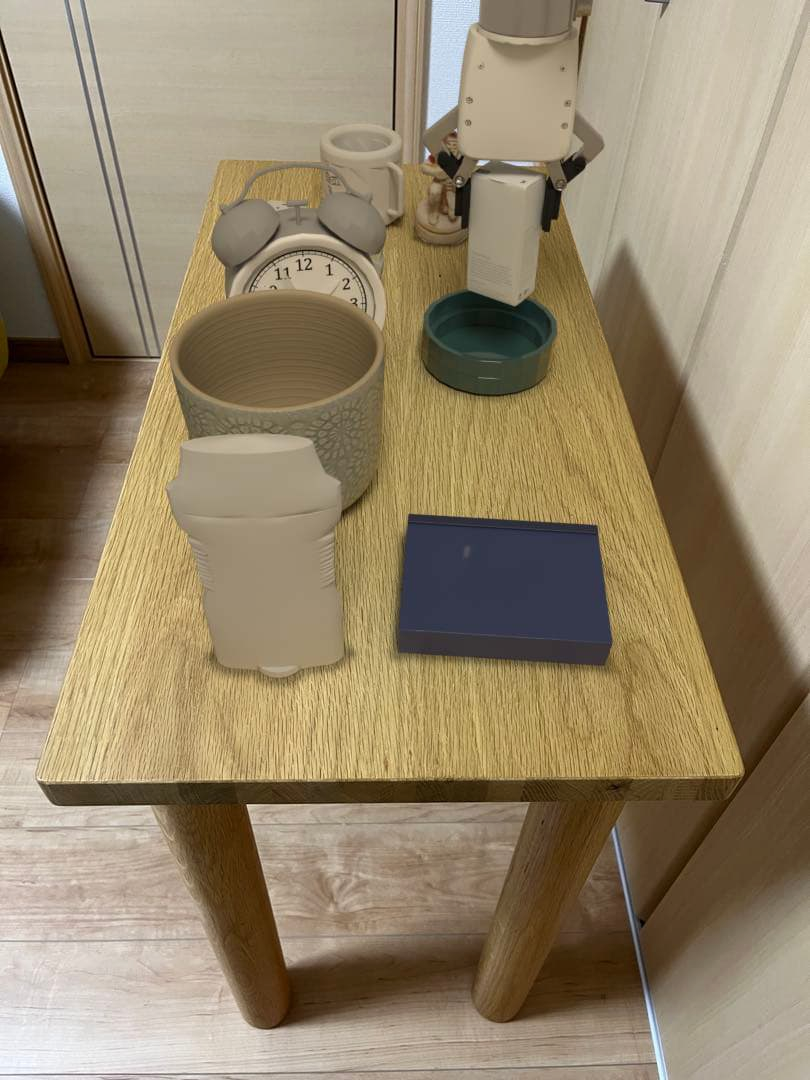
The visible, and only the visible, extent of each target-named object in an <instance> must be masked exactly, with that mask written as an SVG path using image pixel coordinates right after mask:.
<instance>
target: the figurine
mask: <svg viewBox="0 0 810 1080" xmlns="http://www.w3.org/2000/svg"><path fill="white" fill-rule="evenodd" d="M442 141H443V143H444V144H445V146H446V147H447V148H448V149H449V150H450V151H451V152H452V153H453V154H454V155H455V156H456V158H457V159H458V158H459V157H460V155H461V154H460V153H459V151H458V147H457V130H454V131H453V132H451V133H450V134H449V135H448V136H446V137H445V138H444V139H443V140H442ZM419 168H420V169H419V170H420V172H421V173H422V174H423V175H425V176H430V177H433V179H432V181H431V183H430V184H429V185H428V187H427V191H426V192H427V196H426V197H423V198H422V199H421V200H420V201H419V203H418V205H417V206H416V212H415V223H414V227H415V229H414V230H415V231H416V233H417V236H418V237H419V238H420V240H421V241H423V242H425V243H427V244H431V245H432V244H433V245H435V246H437V245H438V246H439V245H440V246H454V245H457V244H459V243H462V242H463V241H464V240H466V239H467V238H468V235H469V227H468V228H466V229H461V216H454V209H455V190H456V186H455V185H454V184H453V180H452V179H451V178H450V177H449V176H448V175H447V174H446V173H445V172H444V171H443V170H442V168H441V167H440V166H439V165H438V163H437V161H436V159H435V158H434V157H433V156H432V155H431V154H429V155H428V156H427V158H426V159H425V160H424V161H423V162H422V163H421V164H420V167H419Z"/></svg>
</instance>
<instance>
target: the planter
mask: <svg viewBox="0 0 810 1080" xmlns="http://www.w3.org/2000/svg"><path fill="white" fill-rule="evenodd" d="M385 347H386V345H385V338H384V336H383V332H381V330H380V328H379V327H378V325H377V324H376V322H375V321H374V320H373V319H372V318H371V317H370V316H369V315H368V314H367V313H366V312H364V311H363V310H362V309H360V308H359V307H357V306H355V305H354V304H352V303H350V302H348V301H345V300H343V299H340V298H338V297H335V296H331V295H328V294H324V293H319V292H314V291H307V290H297V289H272V290H262V291H255V292H249V293H244V294H240V295H236V296H233V297H230V298H227V299H226V298H224V299H221V300H218V301H217V302H214V303H212V304H210V305H208V306H206V307H204V308H203V309H201V310H200V311H198V312H196V313H194V314H193V315H192V316H191V317H190V318H188V320H186V321H185V322H184V323H183V324H182V325H181V326H180V327H179V329H178V330H177V332H176V333H175V335H174V336H173V339H172V341H171V343H170V347H169V354H168V356H169V357H168V358H169V364H170V369H171V373H172V378H173V379H172V380H173V382H174V386H175V387H174V388H175V390H176V395H177V398H178V402H179V406H180V409H181V414H182V416H183V419H184V423H185V426H186V430H187V434H188V438H189V440H192V439H196V438H202V437H208V436H219V435H232V434H280V435H291V436H299V437H303V438H307V439H310V440H311V441H312V442H313V443H314V447H315V450H316V453H317V456H318V458H319V460H320V463H321V465H322V467H323V469H324V471H325V472H327V473H329V474H331V475H332V476H334V477H336V478H337V479H338V480H339V481H340V482H341V501H342V511H341V513H342V512H344V511H345V510H346V509H348V507H350V506H352V505H353V504H354V503H355V502H356V501H357V500H358V499H359V498H360V497H361V496H362V495H363V494H364V493H365V491H366V490H367V489H368V487H369V486H370V484H371V482H372V480H373V478H374V476H375V474H376V471H377V468H378V464H379V459H380V453H381V448H382V447H381V446H382V435H383V434H382V432H383V431H382V429H383V408H384V407H383V406H384V391H385V390H384V389H385V368H386V367H385V365H386V364H385V363H386V362H385V361H386V360H385V359H386V357H385V356H386V354H385V353H386V351H385Z"/></svg>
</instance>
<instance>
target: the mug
mask: <svg viewBox="0 0 810 1080" xmlns="http://www.w3.org/2000/svg"><path fill="white" fill-rule="evenodd" d="M403 145H404V143H403V139H402V138H401V135H399V133H398V132H396V131H395V130H393V129H391V128H389V127H387V126H384V125H379V124H373V123H348V124H342V125H338V126H335V127H332V128H330V129H328V130H326V131H325V132H324V133H323V134H322V135H321V138H320V139H319V156H320V164H324V165H328V166H331V167H333V168H335V169H336V170H337V171H338V172H339V173H340V174H341V175H343V177H344V179H345V181H346V182H347V184H348V185H349V186H350V187H351V188H352V189H353V190H355V191H357V192H358V193H360V194H362V195H364V196H365V195H366V194H368V193H372V194H373V196H372V198H373V199H372V201H371V204H372V205H373V206H374V207H375V208H376V209H377V210H378V212H379V213H380V215H381V217H382V218H383V221H384V223H385V226H388V225H391V224H392V223H394V222H395V221H396V220H397V219H398V218H400V217H402V216H403V215H404V214H405V213H404V212H405V172H404V171H403V170H402V161H403V152H404V151H403V149H404V147H403ZM320 170H321V189H322V200H323V199H324V198H325V197H327V196H328V195H330V194H333V193H338V192H348V193H350V192H349V191H348V190H347V189H346V188H345V186H344V185H343V183H342V182H341V180H340V179H339V178H338V177H336V176H335V175H334V174H333V173H332V172H330V171H326V170H323V169H320Z"/></svg>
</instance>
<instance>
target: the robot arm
mask: <svg viewBox="0 0 810 1080" xmlns="http://www.w3.org/2000/svg"><path fill="white" fill-rule="evenodd" d="M593 3H594V0H479V7H478V8H479V9H478V21H477V22H474V23H471V24H470V25H469V27H468V31H467V34H466V39H465V45H464V49H463V54H462V55H463V56H462V61H461V70H460V79H459V89H458V99H457V105H455V106H454V107H453V108H452V109H450V110H449V111H448V112H447V113H446V114H444V115H442V116H441V118H439V119H438V120H437V121H436V122H435V123H433V124H432V125H431V126H430V127H428V128H427V129H426V130H424V131H423V134H422V143H423V146H424V147H425V148H426V149H427V151H428V152H429V153H430V155H432V156H433V157H434V158H435V159H436V161H437V163H438V165H439V166H440V167H441V168H442V170H443V171H444V172H445V173H446V174H447V175H448V176H449V177H450V178H451V179H452V180H453V184H454V185H455V186H456V190H455V209H454V216H461V229H466V228H468V229H469V213H470V195H471V174H472V173H473V172H474V171H475V168H476V166H477V164H479V162H480V161H488V162H489V161H501V162H515V163H518V162H519V163H544V166H545V168H546V170H547V172H548V176H547V180H546V188H545V196H544V207H543V215H542V223H541V232H542V231H543V233H550V232H551V227H552V221H558V220H559V216H560V210H561V209H560V208H561V201H562V195H563V191H564V190H565V189H566V188H567V186H568V184H569V183H570V182H571V181H573V180H574V179H575V178H576V177H577V176H579V175H580V174H581V173H582V172H583V171H585V169H586V167H587V166H588V165H589V164H590V163H591V162H592V161H593V160H594V159H595V158H597V156H598V155H599V154H600V153H601V152H602V151H603V150H604V149H605V141H604V138H603V136H602V135H601V134H600V133H599V132H598V131H597V130H596V129H595V128H594V127H593V126H592V125H591V124H590V123H589V122H588V120H586V118H584V117H583V115H581V113H580V112H579V111H578V110H576V107H577V105H576V104H577V93H578V83H579V81H578V79H579V78H578V76H579V75H578V73H579V53H580V52H579V51H580V49H579V31H578V28H577V27H575V26H574V25H573V24H574V22H577V18H582V17H583V16H585V17H590V16H591V15H592V10H593ZM453 131H456V133H457V147H458V151H459V153H460V154H461V155H460V157H459V158H458V159H457V158H456V156H455V155H454V154H453V153H452V152H451V151H450V150H449V149H448V148H447V147H446V146H445V144H444V143H443V141H442V140H443V139H444V138H445V137H446V136H448V135H449V134H450V133H451V132H453ZM573 134H574V135H575V136H576V137H577V138H578V139H579V140H580V142H582V143H583V144H582V145H581V146H580V147H579V149H578V150H577V151H576V152H574V153H572V155H570V156H569V157H568V155H569V153H570V149H571V146H572V141H573ZM566 157H568V158H566ZM564 159H565V161H563V160H564Z"/></svg>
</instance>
